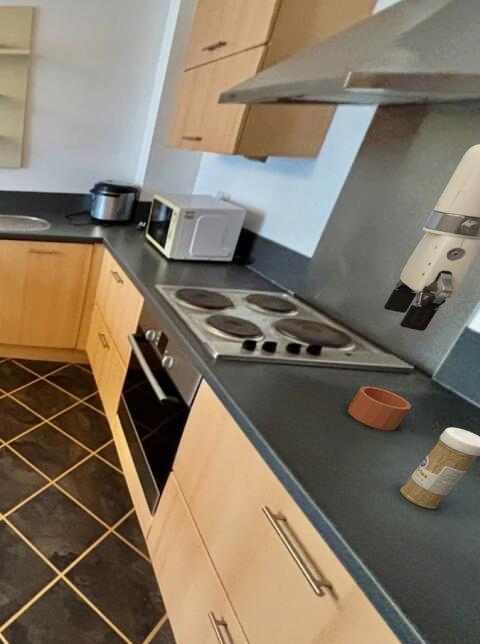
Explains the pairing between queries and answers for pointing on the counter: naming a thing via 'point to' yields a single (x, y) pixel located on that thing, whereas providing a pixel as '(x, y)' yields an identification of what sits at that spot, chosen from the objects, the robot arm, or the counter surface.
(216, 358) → the counter surface
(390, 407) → the holder
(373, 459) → the counter surface
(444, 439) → the sprinkles bottle
